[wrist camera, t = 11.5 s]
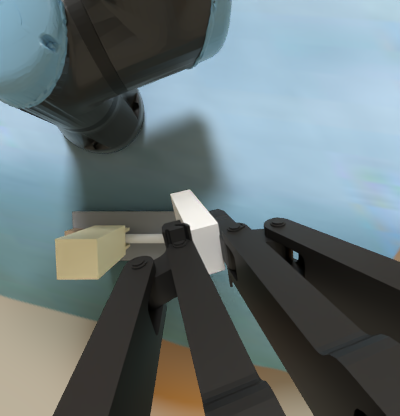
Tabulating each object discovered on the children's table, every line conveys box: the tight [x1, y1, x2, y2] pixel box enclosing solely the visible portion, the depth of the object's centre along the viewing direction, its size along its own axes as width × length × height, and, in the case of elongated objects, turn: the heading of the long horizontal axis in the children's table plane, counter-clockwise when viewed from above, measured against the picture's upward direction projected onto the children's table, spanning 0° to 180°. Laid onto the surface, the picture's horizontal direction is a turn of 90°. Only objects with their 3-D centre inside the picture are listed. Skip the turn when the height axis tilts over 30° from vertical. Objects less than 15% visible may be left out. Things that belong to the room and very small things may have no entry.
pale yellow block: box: [55, 225, 130, 280], centre depth 35 cm, size 5×5×14 cm
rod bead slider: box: [65, 211, 176, 261], centre depth 41 cm, size 22×9×5 cm, turn 90°
